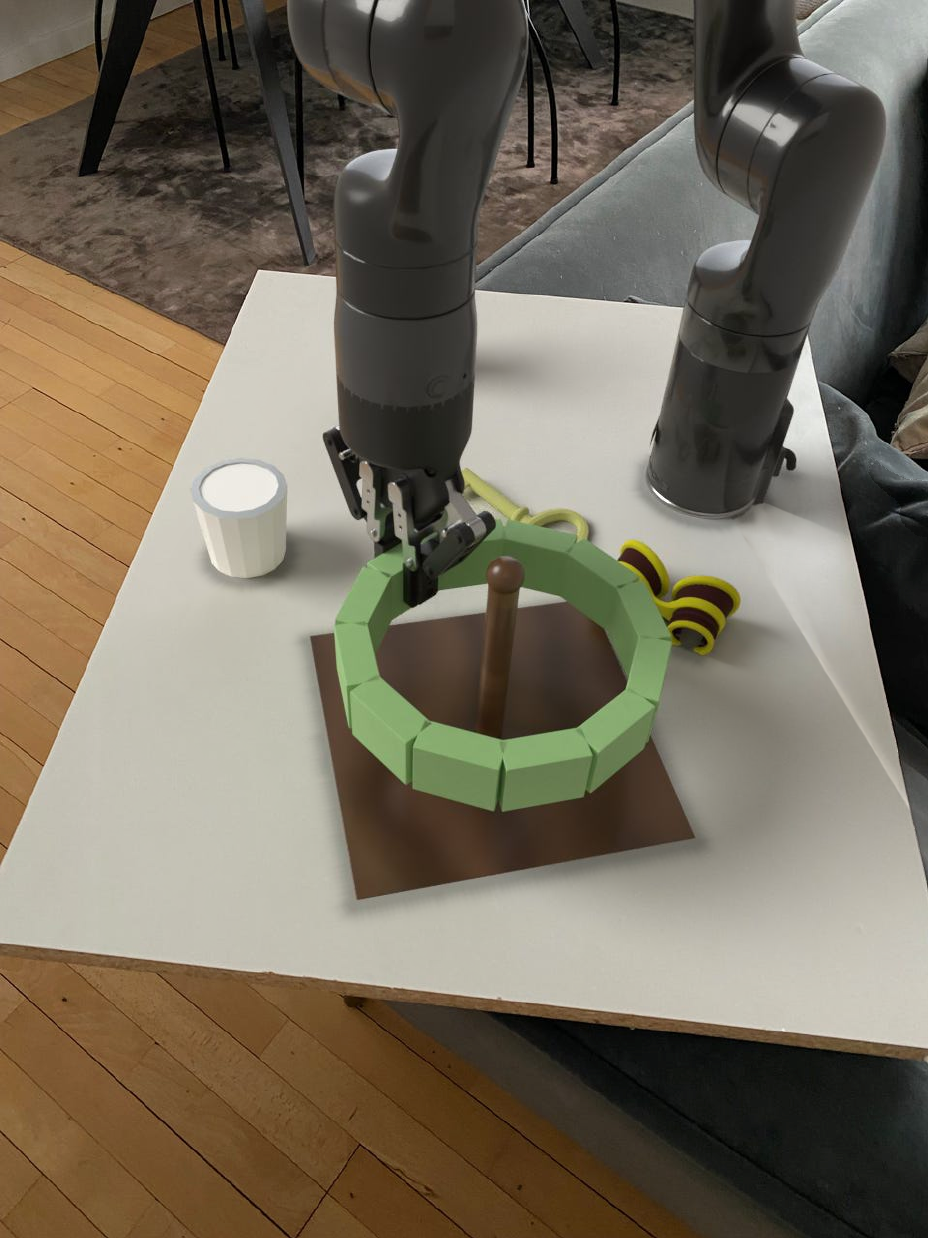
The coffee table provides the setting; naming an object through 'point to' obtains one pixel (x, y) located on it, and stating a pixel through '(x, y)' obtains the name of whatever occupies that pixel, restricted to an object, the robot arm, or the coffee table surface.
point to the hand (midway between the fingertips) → (405, 587)
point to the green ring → (519, 764)
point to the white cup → (242, 515)
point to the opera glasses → (683, 596)
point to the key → (522, 513)
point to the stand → (503, 709)
